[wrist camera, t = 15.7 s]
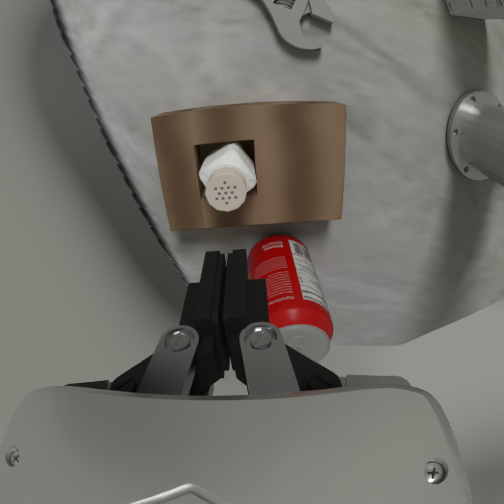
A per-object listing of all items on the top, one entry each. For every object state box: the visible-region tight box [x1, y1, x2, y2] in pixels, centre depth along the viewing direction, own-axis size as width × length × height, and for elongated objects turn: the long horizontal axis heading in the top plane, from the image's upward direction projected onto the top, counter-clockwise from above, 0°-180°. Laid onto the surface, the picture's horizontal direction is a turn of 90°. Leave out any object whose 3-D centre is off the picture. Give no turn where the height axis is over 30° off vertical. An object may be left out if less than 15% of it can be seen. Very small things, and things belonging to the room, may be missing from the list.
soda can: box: [247, 235, 333, 363], centre depth 32 cm, size 8×8×15 cm
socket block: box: [151, 101, 346, 231], centre depth 29 cm, size 18×12×4 cm, turn 94°
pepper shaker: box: [199, 141, 257, 212], centre depth 27 cm, size 4×4×10 cm
